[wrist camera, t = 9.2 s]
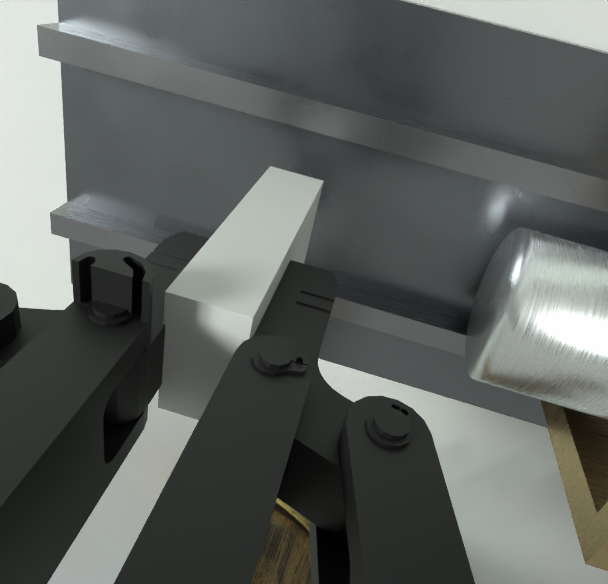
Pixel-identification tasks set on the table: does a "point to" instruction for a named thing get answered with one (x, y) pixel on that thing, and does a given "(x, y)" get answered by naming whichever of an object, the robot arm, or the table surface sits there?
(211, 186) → the dark grey base rail
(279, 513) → the wooden mug
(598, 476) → the collar
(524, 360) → the tube
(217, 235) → the robot arm
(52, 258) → the table surface
